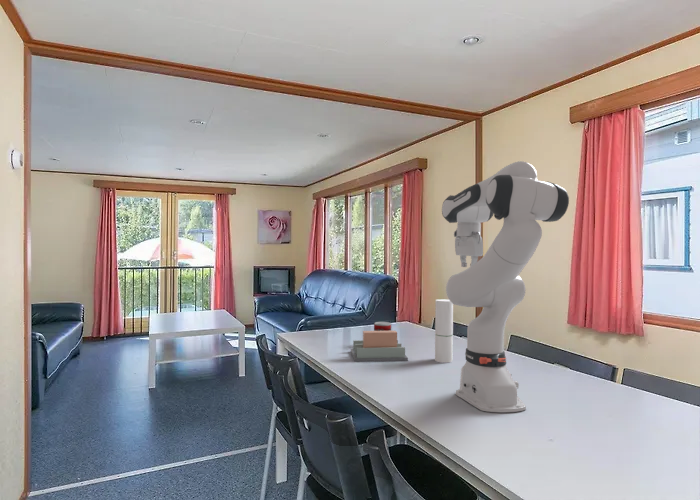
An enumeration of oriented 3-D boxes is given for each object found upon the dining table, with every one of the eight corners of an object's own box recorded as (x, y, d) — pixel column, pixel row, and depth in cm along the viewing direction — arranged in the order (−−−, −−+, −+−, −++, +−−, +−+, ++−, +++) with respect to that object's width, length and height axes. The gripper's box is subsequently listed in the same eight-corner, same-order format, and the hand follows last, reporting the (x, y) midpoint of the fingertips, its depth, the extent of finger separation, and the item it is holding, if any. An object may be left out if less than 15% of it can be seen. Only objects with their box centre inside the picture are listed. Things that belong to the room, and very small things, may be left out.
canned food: (371, 345, 204) (371, 322, 204) (385, 343, 207) (385, 321, 207) (378, 348, 197) (379, 325, 197) (393, 347, 200) (394, 323, 200)
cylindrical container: (451, 358, 181) (451, 299, 180) (453, 363, 174) (454, 301, 173) (434, 358, 181) (434, 299, 181) (435, 362, 174) (436, 301, 174)
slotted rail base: (407, 360, 176) (408, 348, 176) (354, 361, 174) (355, 349, 174) (399, 350, 193) (399, 339, 193) (350, 351, 191) (350, 340, 191)
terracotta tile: (397, 356, 179) (397, 332, 179) (363, 356, 178) (364, 332, 177) (395, 353, 183) (395, 330, 183) (362, 354, 182) (362, 330, 181)
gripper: (487, 231, 157) (487, 269, 157) (467, 233, 177) (466, 266, 177) (471, 231, 156) (470, 268, 156) (452, 232, 177) (451, 266, 177)
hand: (468, 267), depth 167 cm, fingers open, 8 cm apart
